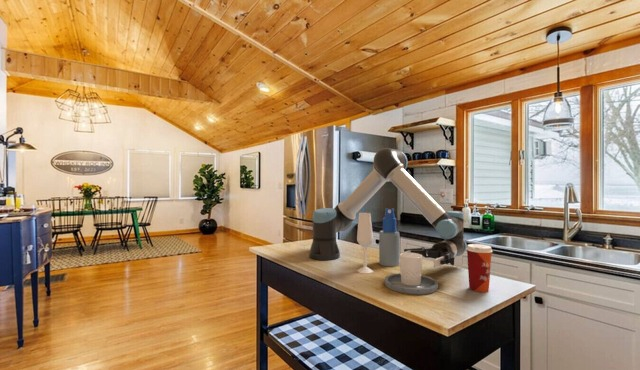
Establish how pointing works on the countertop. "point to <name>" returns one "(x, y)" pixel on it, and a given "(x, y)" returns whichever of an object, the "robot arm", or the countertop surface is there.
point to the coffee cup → (479, 266)
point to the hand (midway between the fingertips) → (416, 260)
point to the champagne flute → (364, 237)
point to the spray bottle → (389, 240)
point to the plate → (425, 287)
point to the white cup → (411, 268)
